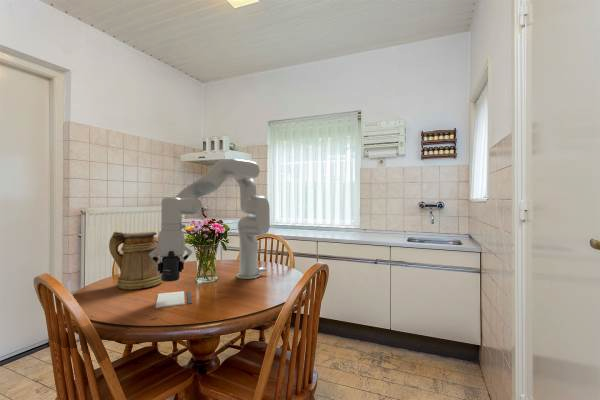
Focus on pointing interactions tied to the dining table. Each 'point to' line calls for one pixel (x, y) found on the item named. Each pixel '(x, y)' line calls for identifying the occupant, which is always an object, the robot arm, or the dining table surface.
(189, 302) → the white tile with strip
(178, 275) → the supplement bottle
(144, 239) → the tankard
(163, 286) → the dining table surface
